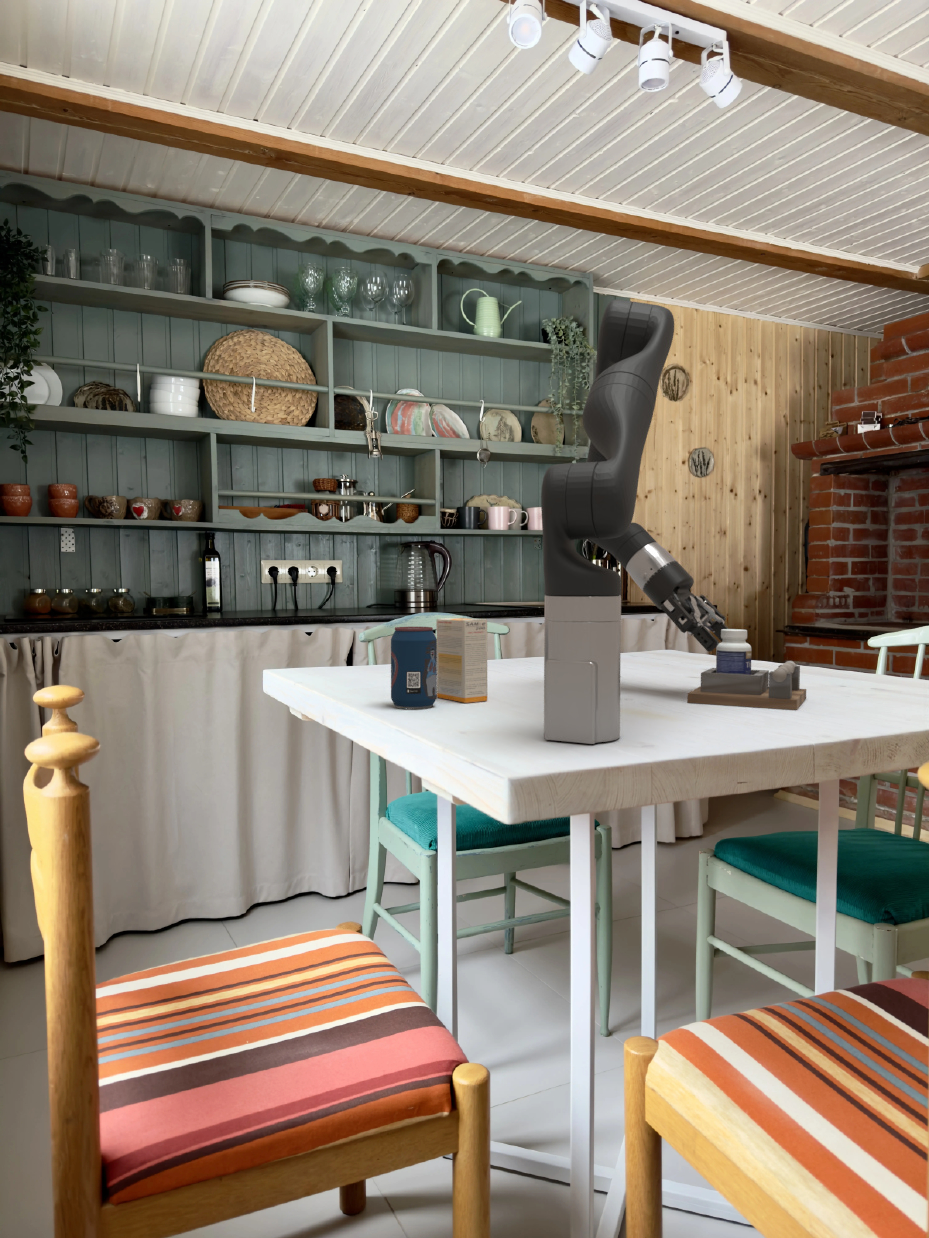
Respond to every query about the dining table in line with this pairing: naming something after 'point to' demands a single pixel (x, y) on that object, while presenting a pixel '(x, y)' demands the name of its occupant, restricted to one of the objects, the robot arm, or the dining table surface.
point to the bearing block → (752, 688)
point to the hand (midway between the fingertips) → (724, 646)
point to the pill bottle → (733, 653)
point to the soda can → (413, 667)
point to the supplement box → (462, 659)
